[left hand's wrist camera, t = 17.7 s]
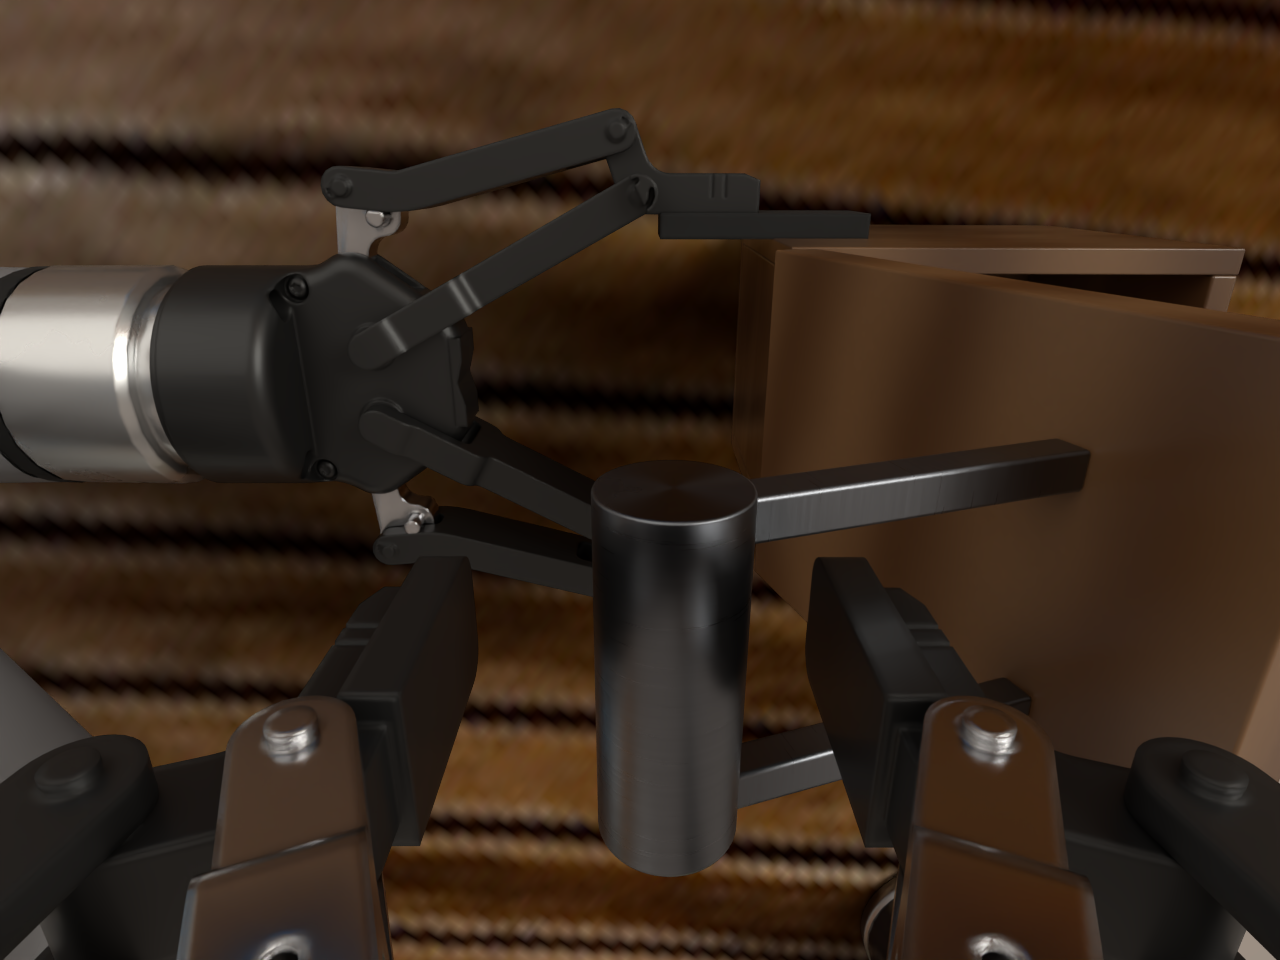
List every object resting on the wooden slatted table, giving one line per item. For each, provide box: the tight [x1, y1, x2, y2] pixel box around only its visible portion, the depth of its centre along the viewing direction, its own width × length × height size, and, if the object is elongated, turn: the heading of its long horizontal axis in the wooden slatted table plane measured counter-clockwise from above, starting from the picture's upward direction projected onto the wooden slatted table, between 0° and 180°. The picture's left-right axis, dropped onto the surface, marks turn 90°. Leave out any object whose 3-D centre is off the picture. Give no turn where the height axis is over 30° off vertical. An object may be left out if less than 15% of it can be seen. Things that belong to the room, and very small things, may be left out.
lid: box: [591, 249, 1280, 877], centre depth 15 cm, size 13×10×9 cm
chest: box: [731, 225, 1245, 479], centre depth 27 cm, size 12×10×11 cm
